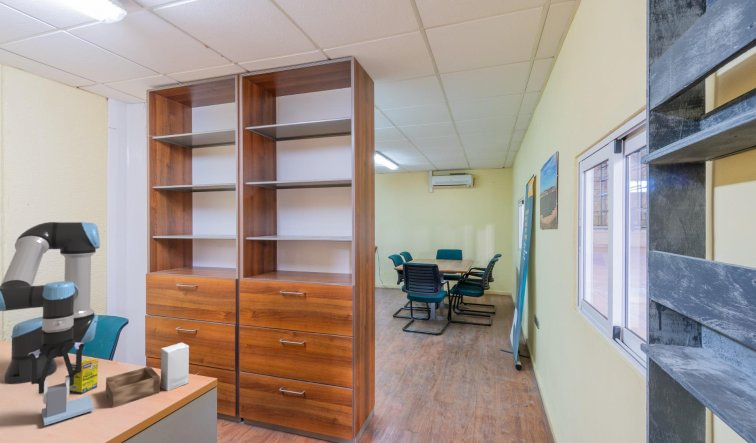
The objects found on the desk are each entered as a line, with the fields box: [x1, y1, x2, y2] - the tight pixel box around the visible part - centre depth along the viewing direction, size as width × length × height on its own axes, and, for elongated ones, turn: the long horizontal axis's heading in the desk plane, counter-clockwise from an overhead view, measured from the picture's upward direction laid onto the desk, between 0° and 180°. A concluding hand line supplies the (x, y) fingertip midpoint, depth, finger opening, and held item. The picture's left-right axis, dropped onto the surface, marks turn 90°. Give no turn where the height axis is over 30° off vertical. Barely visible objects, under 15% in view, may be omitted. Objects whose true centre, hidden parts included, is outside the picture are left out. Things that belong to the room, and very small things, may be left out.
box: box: [105, 366, 161, 408], centre depth 125 cm, size 14×13×6 cm
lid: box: [41, 382, 95, 426], centre depth 111 cm, size 12×11×9 cm
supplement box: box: [69, 357, 99, 395], centre depth 127 cm, size 6×6×11 cm
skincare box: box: [160, 342, 190, 392], centre depth 132 cm, size 8×7×16 cm
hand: (56, 398), depth 109 cm, fingers closed on lid, 4 cm apart
